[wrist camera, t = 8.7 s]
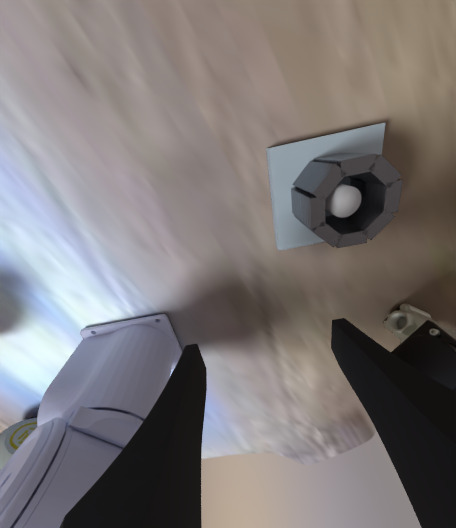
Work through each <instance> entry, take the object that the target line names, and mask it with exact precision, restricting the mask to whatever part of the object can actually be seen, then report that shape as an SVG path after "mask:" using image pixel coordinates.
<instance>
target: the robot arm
mask: <svg viewBox="0 0 456 528" xmlns="http://www.w3.org/2000/svg"><path fill="white" fill-rule="evenodd" d="M157 319H159V320H157ZM80 335H81V336H82V338H83V340H82V341H81V343H80V344H79V345H78V347H77V348H76V350H75V351H74V352H73V354H72V355H71V356H70V358H69V359H68V361H67V362H66V363H65V365H64V366H63V368H62V369H61V370H60V372H59V373H58V374H57V376H56V377H55V379H54V380H53V381H52V383H51V384H50V386H49V387H48V389H47V390H46V392H45V394H44V396H43V398H42V401H41V404H40V407H39V411H38V417H37V426H38V427H37V428H36V429H35V430H34V431H33V432H32V433H31V434H30V435H29V436H28V437H27V438H26V439H25V441H24V442H23V443H22V444H21V445H20V446H19V448H18V449H17V450H16V451H15V453H14V454H13V455H12V456H11V458H10V459H9V460H8V461H7V463H6V464H5V465H4V467H3V468H2V469H1V471H0V528H201V445H202V431H203V421H204V411H205V400H206V367H205V364H204V361H203V358H202V356H201V353H200V350H199V348H198V345H197V344H192V345H186V346H185V348H184V350H183V352H182V350H181V347H180V345H179V343H178V340H177V338H176V336H175V333H174V331H173V328H172V326H171V324H170V321H169V319H168V317H167V316H166V315H165V314H160V315H154V316H149V317H143V318H138V319H132V320H127V321H121V322H116V323H111V324H105V325H100V326H94V327H89V328H84V329H82V330H81V331H80ZM331 348H332V351H333V353H334V355H335V357H336V360H337V362H338V364H339V366H340V368H341V370H342V371H343V373H344V375H345V376H346V378H347V380H348V381H349V383H350V385H351V386H352V388H353V390H354V391H355V393H356V395H357V396H358V398H359V400H360V401H361V403H362V405H363V406H364V408H365V410H366V411H367V413H368V415H369V417H370V418H371V420H372V422H373V424H374V426H375V428H376V430H377V432H378V434H379V436H380V438H381V440H382V442H383V444H384V446H385V448H386V450H387V452H388V454H389V456H390V458H391V461H392V463H393V465H394V467H395V469H396V471H397V473H398V475H399V478H400V480H401V482H402V484H403V486H404V489H405V491H406V493H407V495H408V497H409V500H410V502H411V504H412V506H413V509H414V511H415V513H416V516H417V518H418V520H419V522H420V525H421V527H422V528H456V391H454V390H452V389H450V388H448V387H446V386H444V385H443V384H441V383H439V382H437V381H436V380H434V379H432V378H430V377H429V376H427V375H425V374H423V373H422V372H420V371H418V370H417V369H415V368H414V367H412V366H410V365H409V364H407V363H406V362H404V361H403V360H401V359H400V358H398V357H397V356H395V355H394V354H392V353H391V352H389V351H388V350H386V349H385V348H384V347H382V346H381V345H379V344H378V343H377V342H375V341H374V340H372V339H371V338H370V337H368V336H367V335H366V334H364V333H363V332H362V331H360V330H359V329H358V328H356V327H355V326H354V325H353V324H351V323H350V322H349V321H347V320H346V319H344V318H342V319H336V320H332V339H331ZM171 369H174V371H173V373H172V374H171ZM170 374H171V376H170Z"/></svg>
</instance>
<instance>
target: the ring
mask: <svg viewBox="0 0 456 528" xmlns="http://www.w3.org/2000/svg"><path fill="white" fill-rule="evenodd" d="M346 176H348V177H349V178H350V186H352V187H355V188H357V189H358V190H359V191H360V193H361V203H360V206H359V208H358V209H357V210H356V211H355V212H354V213H353V214H352V215H350V216H348V217H343V218H341V217H337V216H335V215H331V216H326V217H325V199H326V198H327V197H328V196H329V194H330V193H331V192H332V191H333V190H334V188H335V187H336V186H337V185H338V184H339V182H340V181H341V180H342V179H343V178H344V177H346ZM400 176H401V174H400V173H399V172H398V171H397V170H396V169H395V168H394V167H393V166H392V165H391V164H390V163H389V162H388V161H387V160H386V159H385V158H384V157H383V156H382V155H379V154H376V153H337V154H333V155H328V156H323V157H319V158H314V162H312V161H309V163H308V164H307V165H306V167H305V168H304V169H303V171H302V172H301V173H300V175H299V176H298V177H297V179H296V180H295V181H294V183H293V184H292V185H294V186H295V187H296V188H291V200H292V213H293V214H294V217H296V218H297V219H298V220H299V221H300V222H301V223H302V224H304V225H305V226H306V227H307V228H308V229H309V230H311V231H312V232H313V233H314V234H316V235H317V236H318V237H320V238H321V239H323V240H324V241H325V242H327V243H328V244H329V245H331V246H332V247H334V246H336V247H337V248H341V247H346V246H352V245H357V244H362V243H367V238H368V239H370V240H372V239H373V238H374V237H375V236H376V235H377V234H378V233H379V232H380V231H381V230H382V229H383V228H384V227H385V226H386V225H387V224H388V223H389V222H390V221H391V220H392V219H393V218H394V217H395V216H394V215H393V214H392V213H393V212H398V207H399V201H400V195H401V189H402V183H403V180H401V179H398V178H399V177H400Z"/></svg>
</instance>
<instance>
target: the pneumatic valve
mask: <svg viewBox="0 0 456 528" xmlns="http://www.w3.org/2000/svg"><path fill="white" fill-rule="evenodd" d="M384 327H385V328H387V329H389V330H391V331H392V333H393V334H394V335H395V336H396V337H397V338H399V339H400V343H401V344H400V345H399V346H398V347H397V348H396V349H394V350H393V351H392V352H391V353H392V354H394V355H395V356H397V357H398V358H400V359H401V360H403V361H404V362H406V363H407V364H409V365H410V366H412V367H414V368H415V369H417V370H418V371H420V372H422V373H423V374H425V375H427V376H429V377H430V378H432V379H434V380H436V381H437V382H439V383H441V384H443V385H444V386H446V387H448V388H450V389H452V390H454V391H456V332H455V331H453V330H451V329H448V328H446V327H444V326H441V325H440V324H439V323H438V322H437V321H435V320H433V319H431V315H430V314H429V313H427V312H425V311H423V310H420V309H418V308H416V307H413V306H411V305H409V304H406V303H404V304H402V305H400V310H399V311H394V312H392V313H391V314H390V315H389V316H388V318H387V320H386V321H384Z"/></svg>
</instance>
